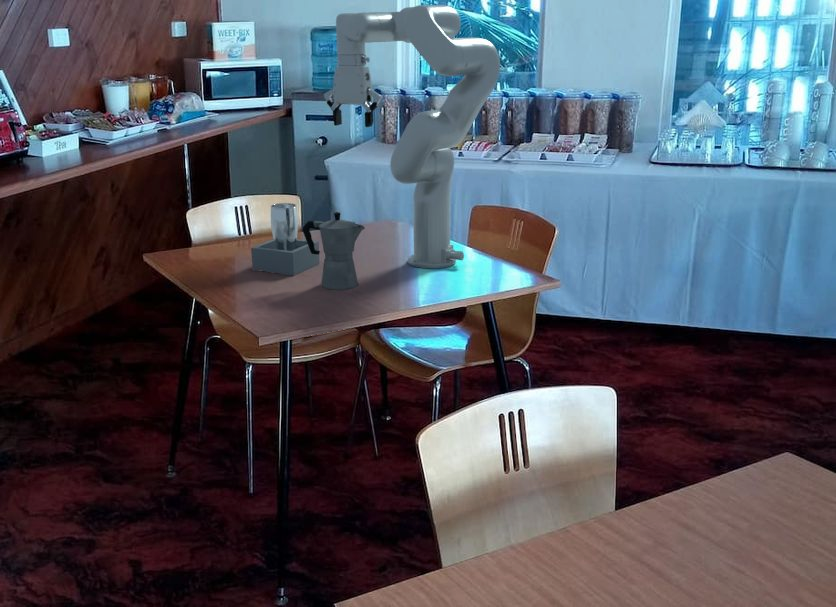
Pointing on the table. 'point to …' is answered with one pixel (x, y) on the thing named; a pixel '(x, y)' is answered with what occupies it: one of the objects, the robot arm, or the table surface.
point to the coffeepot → (336, 251)
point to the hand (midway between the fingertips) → (353, 125)
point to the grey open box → (284, 258)
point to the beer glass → (284, 225)
